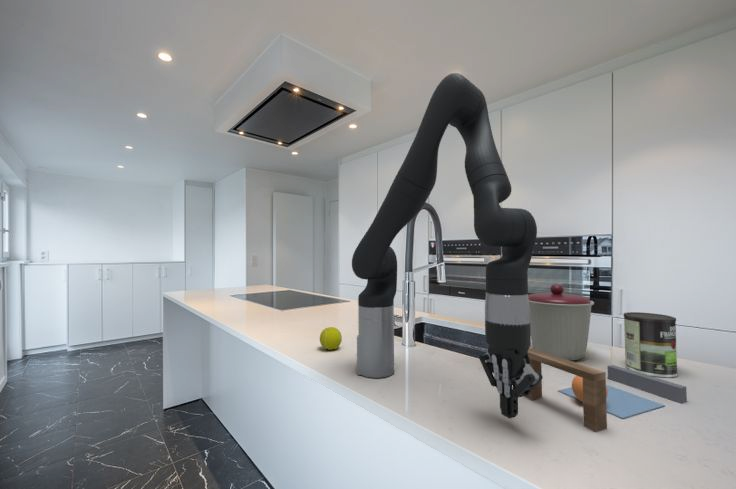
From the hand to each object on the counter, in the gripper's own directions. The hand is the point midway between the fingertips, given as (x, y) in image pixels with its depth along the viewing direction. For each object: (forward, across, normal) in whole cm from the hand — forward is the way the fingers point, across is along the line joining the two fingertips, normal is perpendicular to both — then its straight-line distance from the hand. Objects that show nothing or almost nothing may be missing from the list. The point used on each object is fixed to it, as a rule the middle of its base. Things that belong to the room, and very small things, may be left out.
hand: (508, 415), depth 58 cm
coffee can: (+2, +6, -54) cm, 54 cm away
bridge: (+2, 0, -13) cm, 13 cm away
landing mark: (+2, 0, -27) cm, 27 cm away
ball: (-2, 0, -21) cm, 21 cm away
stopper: (+2, 0, -39) cm, 39 cm away
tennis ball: (+2, +57, +18) cm, 60 cm away
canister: (+2, +24, -43) cm, 49 cm away
